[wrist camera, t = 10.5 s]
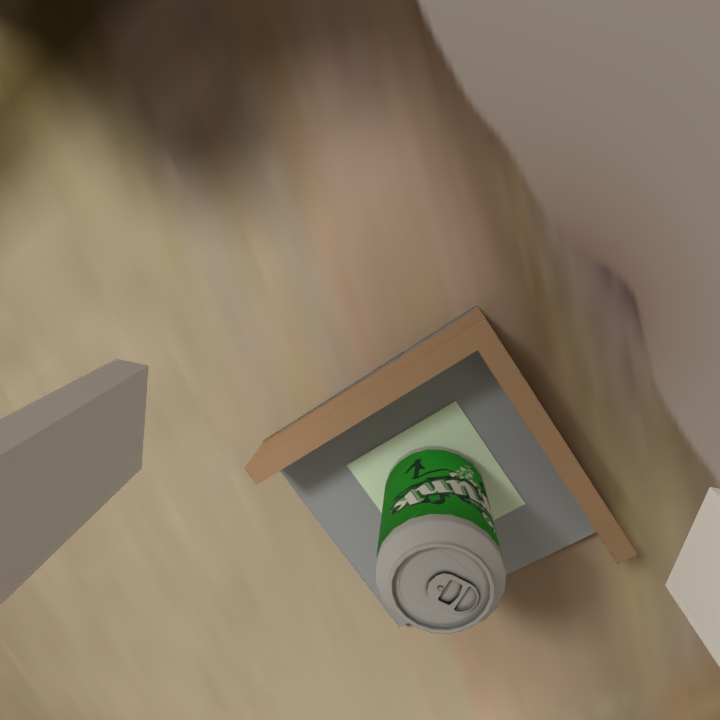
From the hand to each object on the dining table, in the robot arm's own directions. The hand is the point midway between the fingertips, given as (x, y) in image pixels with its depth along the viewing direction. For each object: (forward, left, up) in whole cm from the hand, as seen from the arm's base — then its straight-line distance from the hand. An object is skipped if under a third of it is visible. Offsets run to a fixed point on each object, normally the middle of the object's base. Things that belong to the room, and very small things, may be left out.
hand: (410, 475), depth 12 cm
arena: (+13, -7, -27) cm, 30 cm away
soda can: (+13, -7, -26) cm, 29 cm away
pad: (+13, -7, -27) cm, 30 cm away
